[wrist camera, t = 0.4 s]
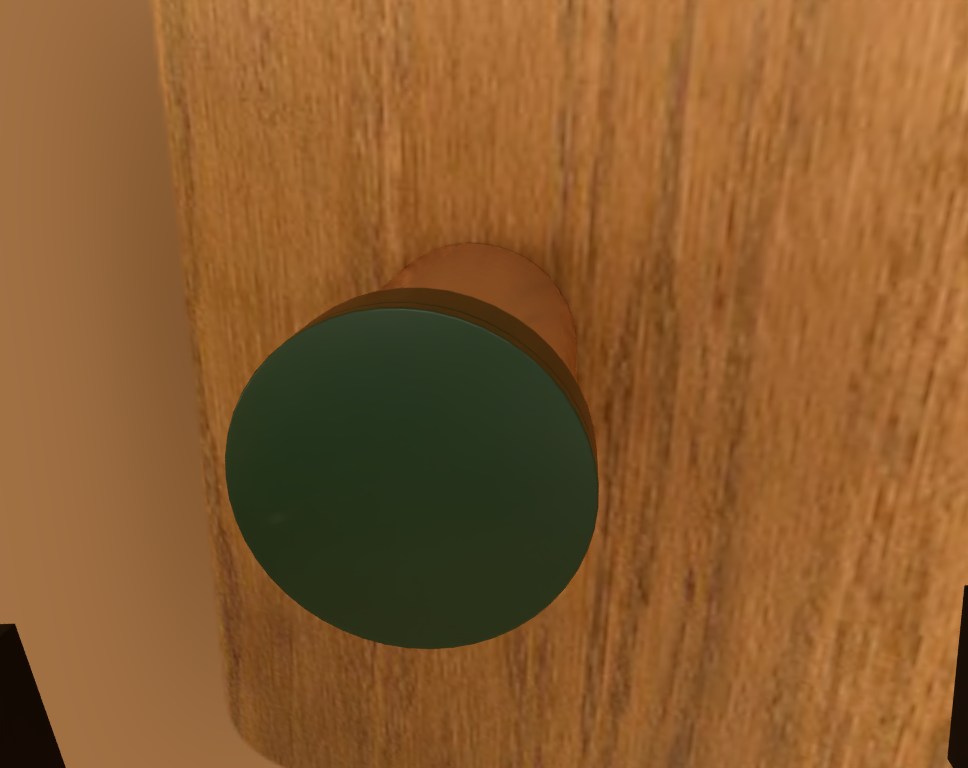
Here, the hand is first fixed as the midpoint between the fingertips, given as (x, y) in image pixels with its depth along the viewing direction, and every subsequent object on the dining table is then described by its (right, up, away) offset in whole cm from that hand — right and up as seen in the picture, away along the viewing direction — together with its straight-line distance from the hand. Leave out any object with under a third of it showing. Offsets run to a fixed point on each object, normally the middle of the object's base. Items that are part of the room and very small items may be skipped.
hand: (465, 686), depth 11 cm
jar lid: (-1, +2, +5) cm, 6 cm away
